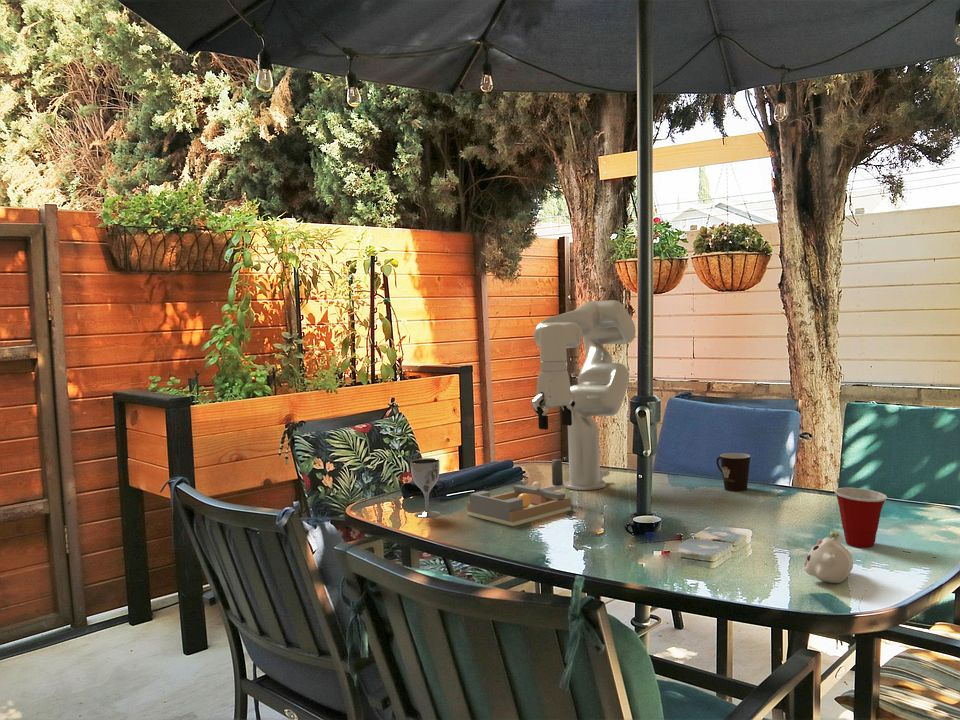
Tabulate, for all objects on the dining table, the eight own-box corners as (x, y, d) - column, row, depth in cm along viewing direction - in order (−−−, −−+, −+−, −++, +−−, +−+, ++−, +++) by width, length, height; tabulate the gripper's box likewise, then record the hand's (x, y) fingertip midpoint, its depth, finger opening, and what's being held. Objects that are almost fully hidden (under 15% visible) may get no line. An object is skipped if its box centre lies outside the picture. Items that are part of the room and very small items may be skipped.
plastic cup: (887, 553, 179) (886, 498, 179) (832, 548, 184) (832, 495, 184) (888, 540, 189) (888, 488, 188) (837, 535, 194) (836, 485, 193)
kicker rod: (540, 491, 245) (539, 455, 245) (586, 500, 232) (585, 462, 231) (511, 498, 238) (510, 461, 237) (557, 508, 224) (556, 469, 223)
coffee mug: (754, 491, 241) (754, 457, 240) (725, 492, 241) (724, 458, 240) (742, 483, 252) (742, 450, 252) (714, 484, 253) (713, 451, 252)
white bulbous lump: (830, 522, 171) (822, 532, 158) (866, 546, 168) (861, 558, 155) (804, 559, 173) (794, 572, 160) (840, 583, 170) (833, 599, 157)
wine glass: (443, 510, 232) (441, 457, 232) (439, 518, 225) (437, 463, 224) (415, 511, 233) (413, 458, 232) (410, 518, 225) (408, 463, 224)
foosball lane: (525, 500, 241) (524, 480, 241) (570, 510, 228) (570, 488, 227) (467, 514, 227) (466, 493, 226) (512, 526, 213) (511, 503, 213)
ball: (524, 505, 231) (524, 491, 231) (534, 507, 228) (534, 493, 228) (514, 507, 229) (513, 493, 228) (524, 510, 226) (523, 495, 225)
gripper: (564, 364, 243) (566, 422, 244) (522, 369, 232) (524, 429, 233) (583, 365, 238) (585, 424, 239) (541, 370, 226) (543, 432, 227)
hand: (555, 427), depth 236 cm, fingers open, 9 cm apart
